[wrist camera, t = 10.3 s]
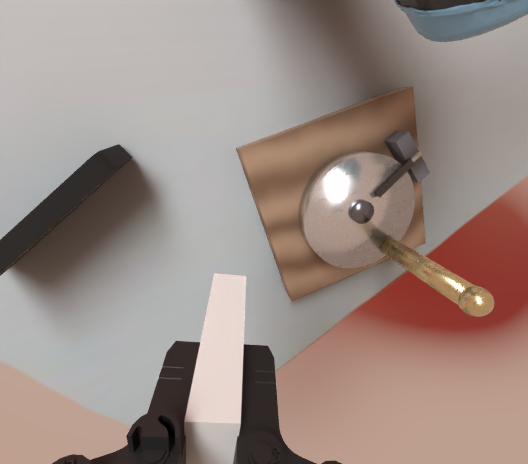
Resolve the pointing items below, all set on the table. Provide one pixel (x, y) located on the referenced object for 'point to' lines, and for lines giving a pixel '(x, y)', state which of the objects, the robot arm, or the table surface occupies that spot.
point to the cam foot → (374, 222)
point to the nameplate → (60, 204)
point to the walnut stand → (309, 161)
